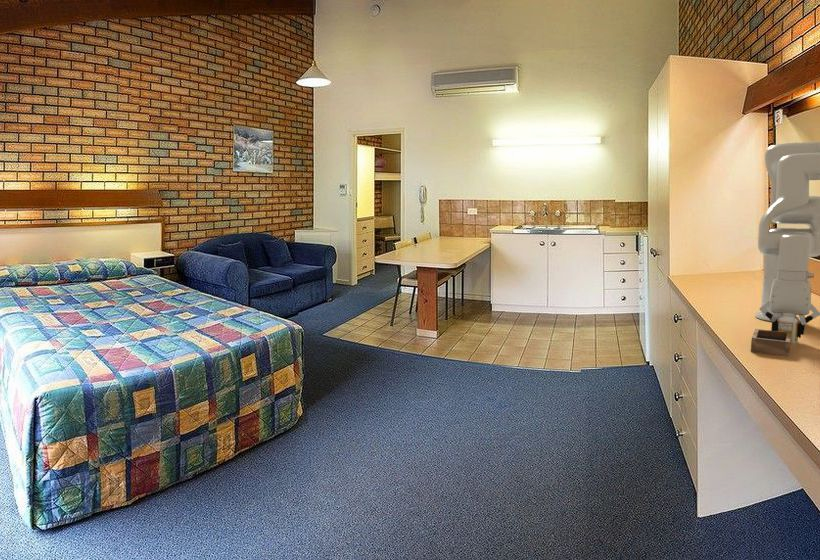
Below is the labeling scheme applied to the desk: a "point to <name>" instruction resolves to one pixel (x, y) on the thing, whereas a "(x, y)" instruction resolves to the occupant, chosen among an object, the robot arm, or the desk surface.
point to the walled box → (771, 342)
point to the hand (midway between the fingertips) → (787, 334)
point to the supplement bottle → (789, 325)
